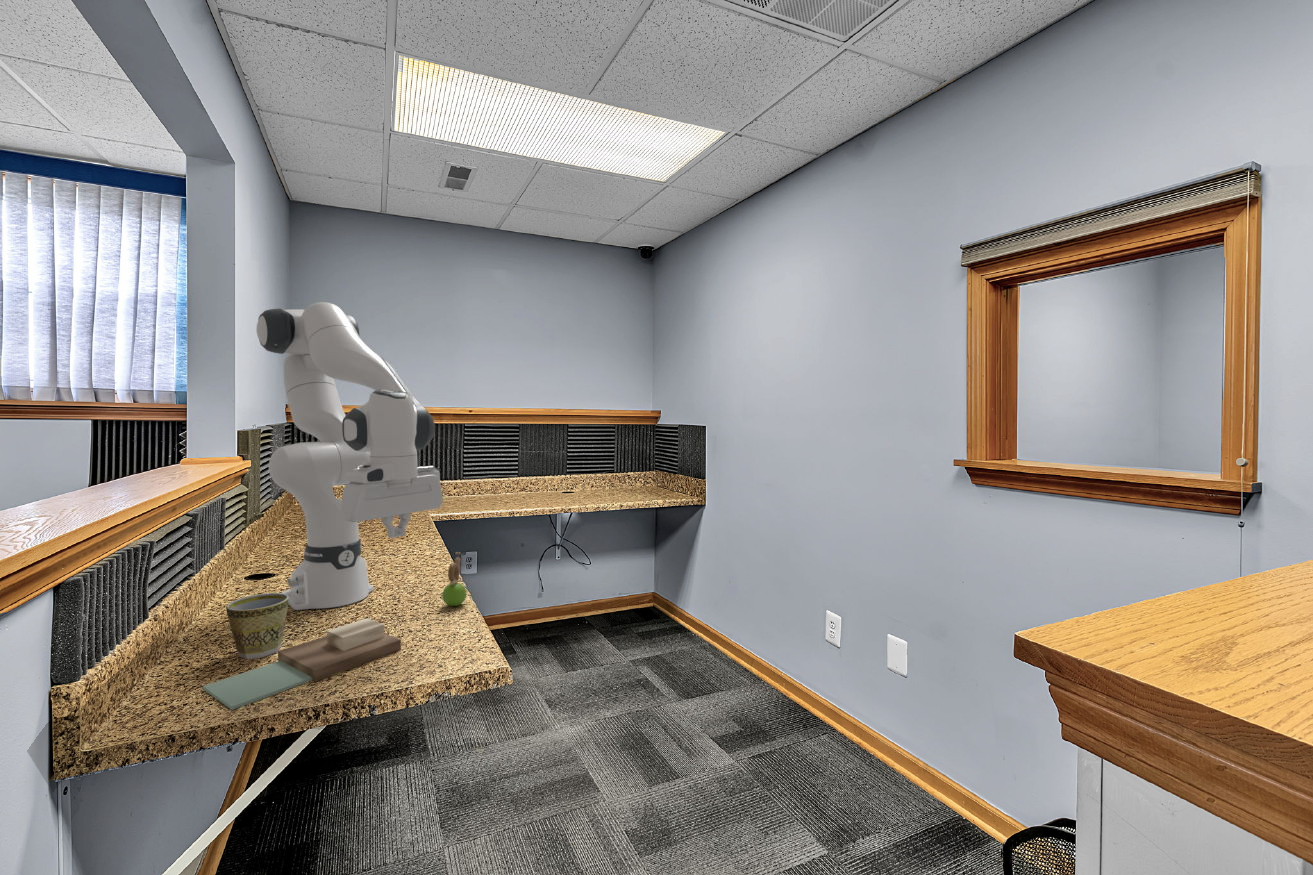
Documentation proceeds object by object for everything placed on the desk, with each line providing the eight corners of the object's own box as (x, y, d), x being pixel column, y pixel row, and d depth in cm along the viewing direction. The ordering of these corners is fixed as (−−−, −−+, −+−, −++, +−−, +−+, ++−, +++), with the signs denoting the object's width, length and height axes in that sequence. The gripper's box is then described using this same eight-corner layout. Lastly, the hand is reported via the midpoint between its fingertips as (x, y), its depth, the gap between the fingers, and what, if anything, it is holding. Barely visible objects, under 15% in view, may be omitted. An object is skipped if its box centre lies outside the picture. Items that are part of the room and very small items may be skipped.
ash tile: (327, 643, 113) (326, 630, 113) (368, 630, 119) (367, 618, 119) (343, 650, 109) (343, 637, 109) (384, 636, 116) (384, 624, 116)
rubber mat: (202, 689, 99) (202, 686, 99) (280, 663, 109) (280, 660, 109) (231, 709, 92) (231, 706, 92) (312, 680, 102) (312, 677, 102)
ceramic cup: (281, 659, 111) (279, 606, 110) (219, 666, 108) (216, 612, 107) (301, 633, 123) (299, 586, 122) (246, 639, 120) (244, 591, 120)
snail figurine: (470, 600, 143) (469, 551, 143) (463, 609, 137) (461, 558, 136) (448, 600, 143) (447, 551, 142) (439, 609, 137) (438, 558, 136)
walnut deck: (278, 661, 109) (277, 651, 109) (362, 633, 123) (362, 624, 122) (315, 681, 101) (314, 670, 101) (401, 649, 115) (400, 639, 114)
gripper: (430, 464, 130) (432, 525, 131) (336, 473, 113) (339, 544, 114) (447, 465, 126) (449, 529, 127) (353, 475, 110) (356, 548, 111)
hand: (396, 536), depth 121 cm, fingers closed
